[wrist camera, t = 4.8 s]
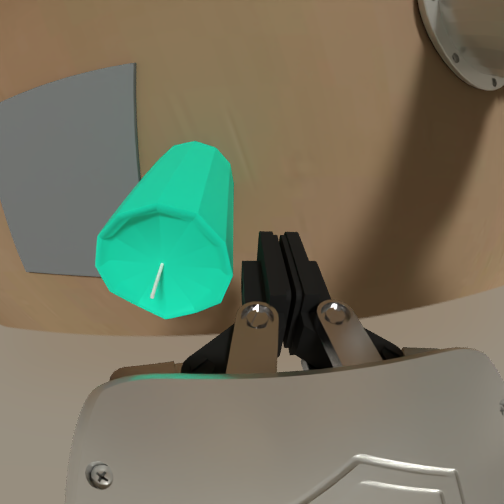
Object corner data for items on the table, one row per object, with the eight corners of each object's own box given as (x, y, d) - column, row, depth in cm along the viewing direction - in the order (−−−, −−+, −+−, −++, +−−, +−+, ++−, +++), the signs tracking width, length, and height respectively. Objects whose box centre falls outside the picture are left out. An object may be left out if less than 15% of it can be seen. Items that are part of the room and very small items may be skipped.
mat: (136, 63, 14) (133, 62, 14) (155, 275, 24) (153, 279, 24) (-12, 108, 13) (-15, 109, 12) (28, 268, 23) (26, 271, 23)
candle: (139, 164, 18) (53, 264, 9) (212, 126, 17) (178, 194, 8) (177, 228, 22) (141, 355, 12) (246, 198, 21) (258, 324, 11)
